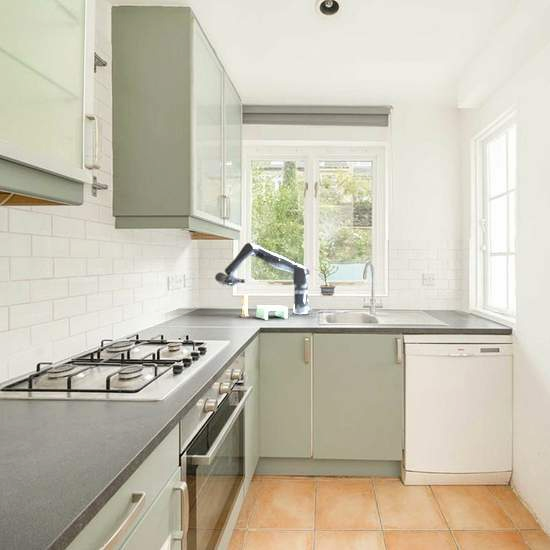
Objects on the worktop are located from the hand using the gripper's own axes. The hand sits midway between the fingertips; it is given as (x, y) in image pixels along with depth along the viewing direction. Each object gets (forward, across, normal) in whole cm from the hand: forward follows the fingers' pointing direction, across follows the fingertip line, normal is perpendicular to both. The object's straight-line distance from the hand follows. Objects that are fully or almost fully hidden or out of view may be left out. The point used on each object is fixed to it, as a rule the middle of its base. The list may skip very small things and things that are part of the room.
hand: (238, 281), depth 314 cm
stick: (+12, 0, +22) cm, 25 cm away
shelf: (+24, +14, +22) cm, 35 cm away
